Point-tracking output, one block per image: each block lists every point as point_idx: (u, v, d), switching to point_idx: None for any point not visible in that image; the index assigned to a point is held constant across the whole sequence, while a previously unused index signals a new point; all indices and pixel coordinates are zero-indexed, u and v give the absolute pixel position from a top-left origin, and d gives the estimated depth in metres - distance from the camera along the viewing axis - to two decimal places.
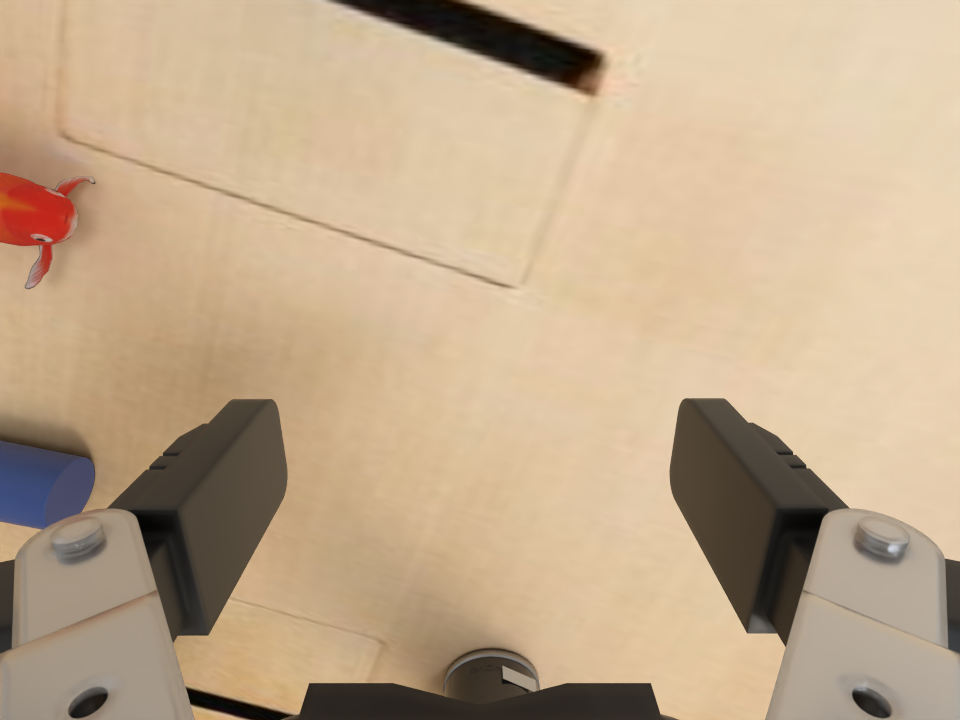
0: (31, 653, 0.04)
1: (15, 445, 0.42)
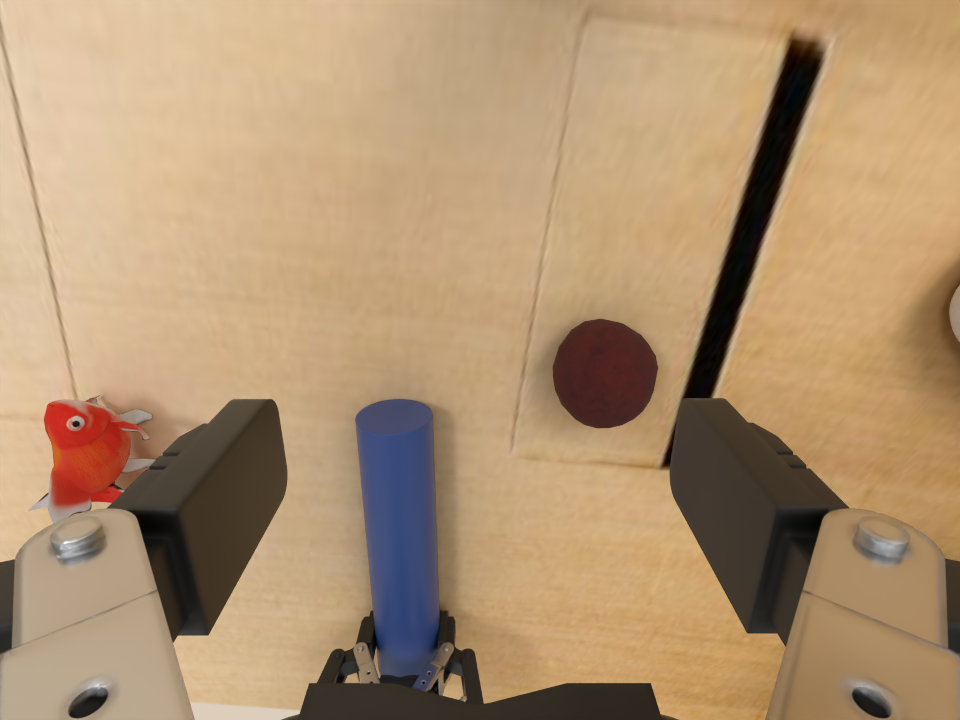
0: (33, 653, 0.04)
1: None
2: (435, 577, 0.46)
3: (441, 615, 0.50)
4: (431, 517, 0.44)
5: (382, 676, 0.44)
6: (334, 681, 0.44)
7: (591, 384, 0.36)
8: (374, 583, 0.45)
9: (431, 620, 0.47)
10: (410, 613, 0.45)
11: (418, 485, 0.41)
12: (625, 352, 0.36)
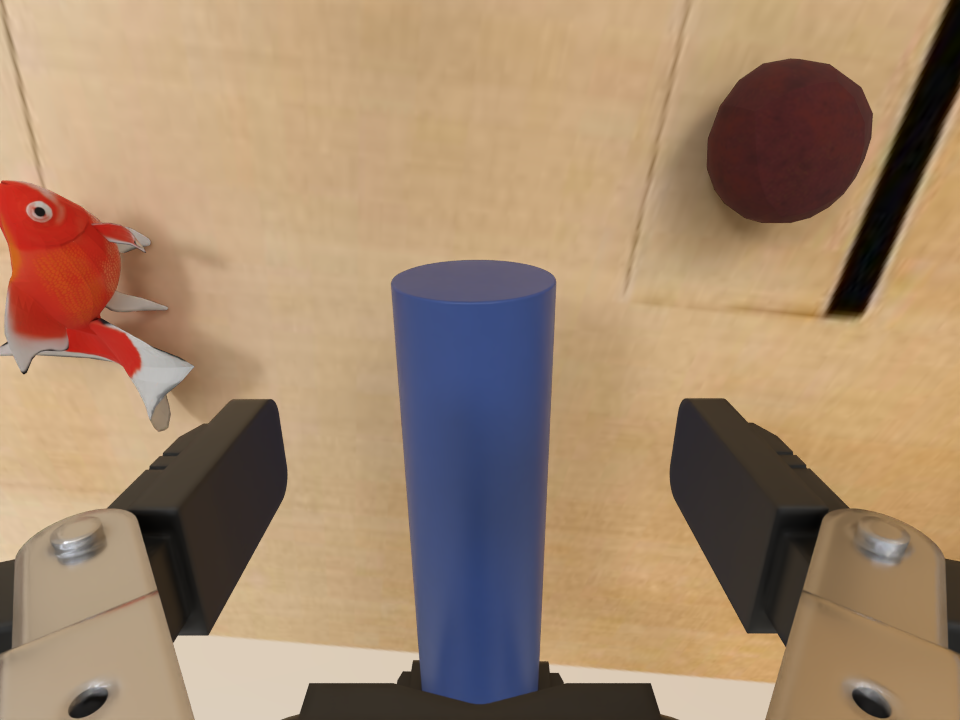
0: (32, 653, 0.04)
1: None
2: (540, 611, 0.24)
3: None
4: (543, 498, 0.22)
5: None
6: None
7: (786, 133, 0.24)
8: (426, 624, 0.23)
9: (530, 689, 0.25)
10: (496, 682, 0.23)
11: (527, 427, 0.19)
12: (838, 84, 0.24)
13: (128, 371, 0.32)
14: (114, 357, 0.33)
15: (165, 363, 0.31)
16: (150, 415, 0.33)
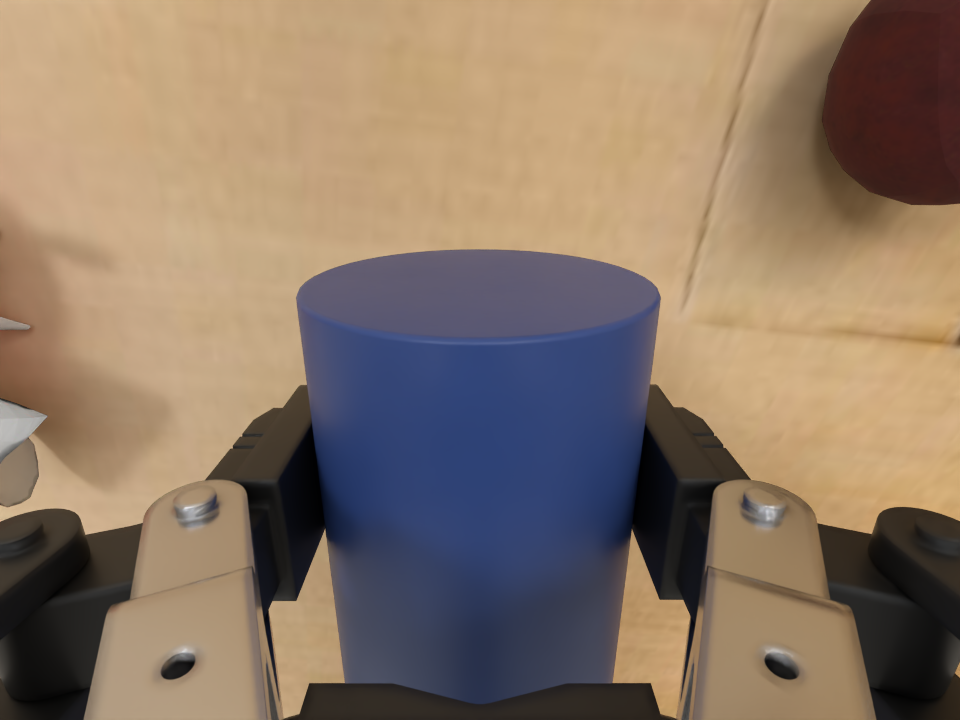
0: (140, 608, 0.05)
1: None
2: None
3: None
4: None
5: None
6: None
7: None
8: None
9: None
10: None
11: (595, 605, 0.09)
12: None
13: None
14: None
15: None
16: None
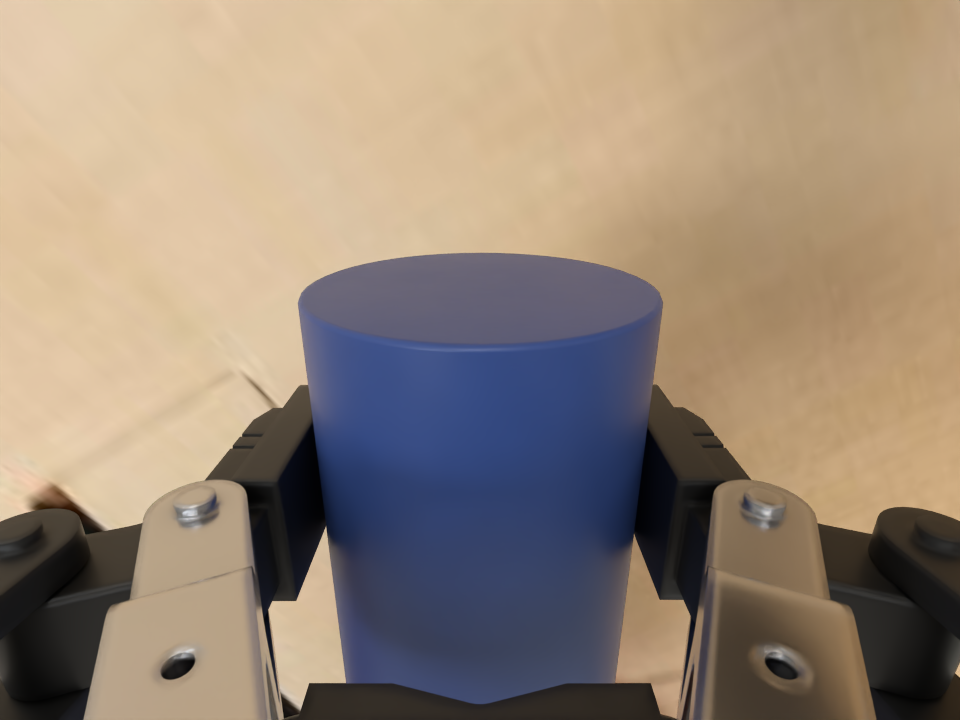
0: (140, 608, 0.05)
1: None
2: None
3: None
4: None
5: None
6: None
7: None
8: None
9: None
10: None
11: (597, 610, 0.09)
12: None
13: None
14: None
15: None
16: None
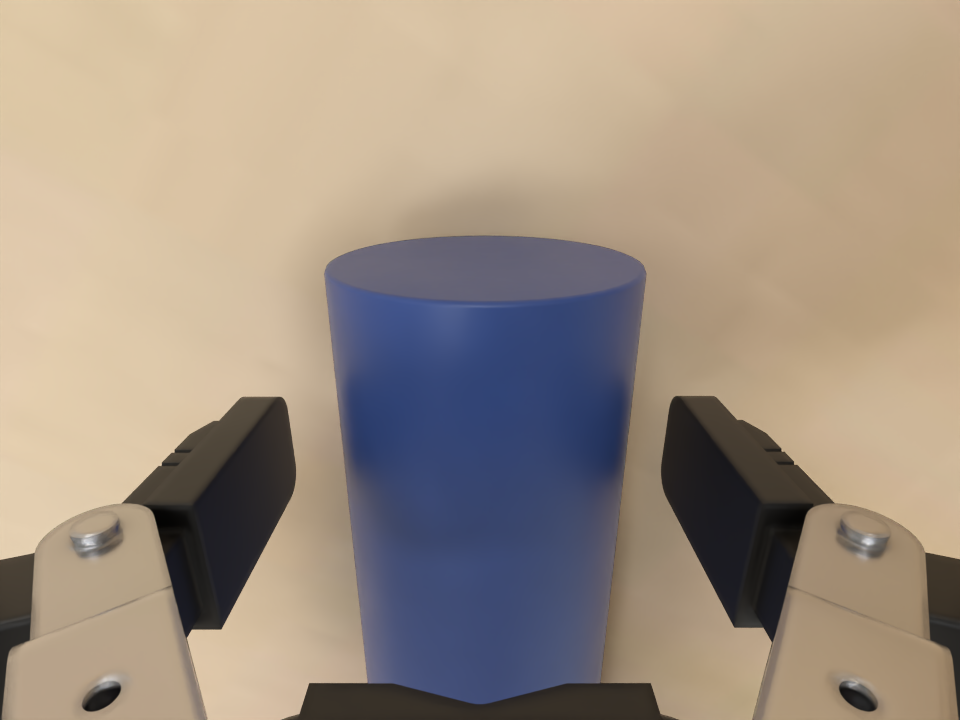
0: (48, 646, 0.05)
1: None
2: None
3: None
4: (602, 651, 0.12)
5: None
6: None
7: None
8: None
9: None
10: None
11: (588, 547, 0.10)
12: None
13: None
14: None
15: None
16: None
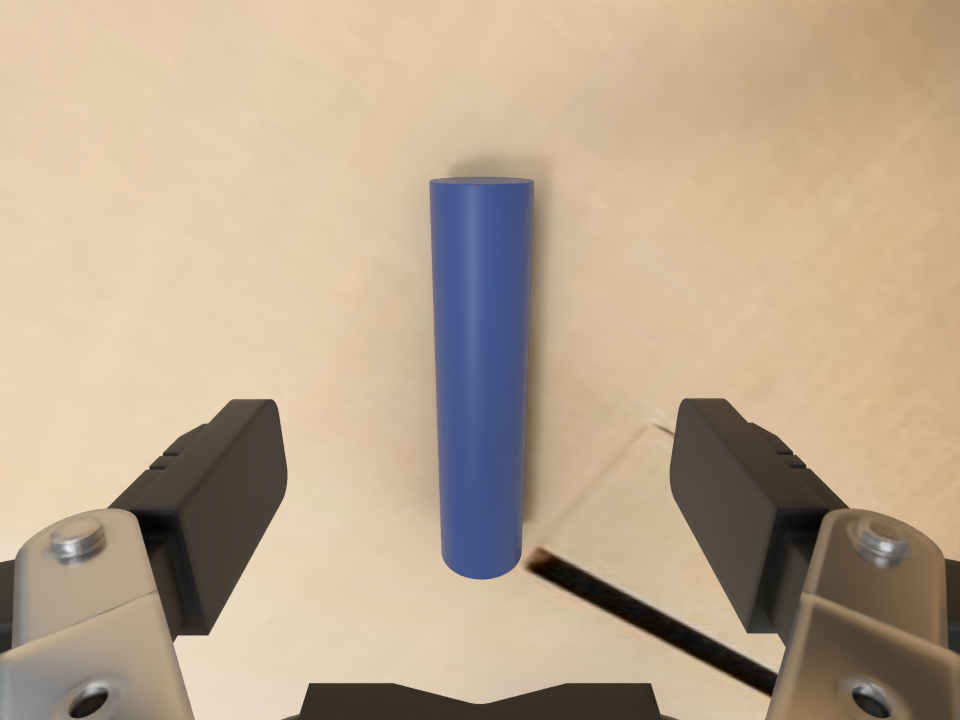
0: (31, 653, 0.04)
1: None
2: (524, 425, 0.35)
3: None
4: (526, 333, 0.32)
5: None
6: None
7: None
8: (446, 428, 0.34)
9: (517, 484, 0.36)
10: (494, 469, 0.34)
11: (515, 274, 0.30)
12: None
13: None
14: None
15: None
16: None
